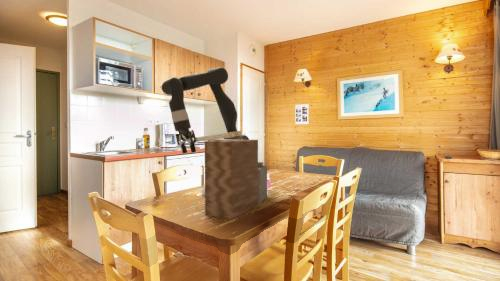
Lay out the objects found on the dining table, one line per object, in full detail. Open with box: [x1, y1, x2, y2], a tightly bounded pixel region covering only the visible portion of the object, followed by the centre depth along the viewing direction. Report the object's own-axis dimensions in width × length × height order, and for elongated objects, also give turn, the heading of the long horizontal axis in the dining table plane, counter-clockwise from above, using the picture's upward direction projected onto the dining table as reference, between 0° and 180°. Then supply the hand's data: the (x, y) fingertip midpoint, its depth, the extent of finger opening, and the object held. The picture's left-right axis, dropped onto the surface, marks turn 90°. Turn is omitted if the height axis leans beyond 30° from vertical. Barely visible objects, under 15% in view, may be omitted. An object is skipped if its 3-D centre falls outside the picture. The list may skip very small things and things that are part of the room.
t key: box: [195, 130, 242, 143], centre depth 121 cm, size 22×8×2 cm, turn 61°
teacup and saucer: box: [196, 187, 205, 198], centre depth 152 cm, size 9×8×4 cm
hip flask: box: [258, 161, 268, 205], centre depth 140 cm, size 16×4×20 cm, turn 162°
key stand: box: [204, 137, 259, 220], centre depth 124 cm, size 14×24×33 cm, turn 153°
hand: (189, 152), depth 131 cm, fingers open, 8 cm apart
